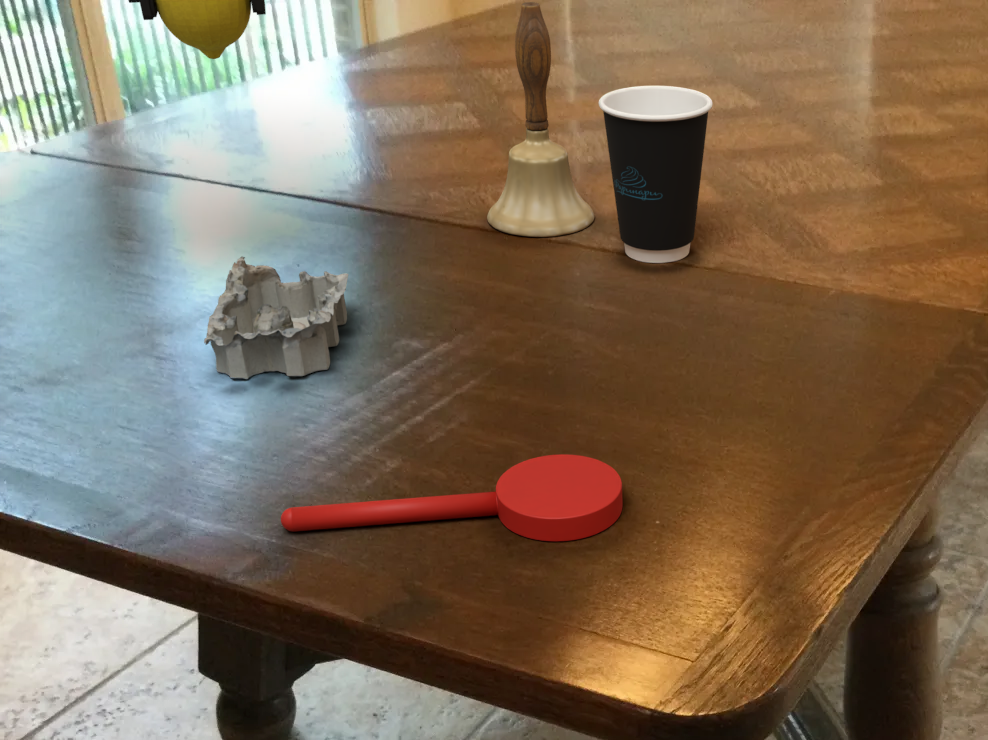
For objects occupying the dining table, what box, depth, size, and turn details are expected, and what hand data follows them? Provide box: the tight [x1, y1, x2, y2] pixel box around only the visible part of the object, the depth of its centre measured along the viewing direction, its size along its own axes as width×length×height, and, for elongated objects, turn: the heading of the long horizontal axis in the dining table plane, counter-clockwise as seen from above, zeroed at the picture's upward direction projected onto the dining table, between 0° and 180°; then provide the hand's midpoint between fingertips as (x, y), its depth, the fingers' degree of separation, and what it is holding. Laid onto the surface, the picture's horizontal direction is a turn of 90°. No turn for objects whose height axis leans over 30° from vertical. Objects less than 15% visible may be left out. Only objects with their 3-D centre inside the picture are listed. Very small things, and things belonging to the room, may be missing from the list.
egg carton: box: [203, 256, 349, 380], centre depth 84 cm, size 11×8×4 cm
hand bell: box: [486, 1, 595, 238], centre depth 100 cm, size 8×8×16 cm
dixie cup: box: [598, 85, 713, 264], centre depth 97 cm, size 8×8×11 cm
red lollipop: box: [280, 453, 624, 543], centre depth 68 cm, size 17×6×1 cm, turn 100°
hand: (205, 9), depth 81 cm, fingers closed on lemon, 5 cm apart
